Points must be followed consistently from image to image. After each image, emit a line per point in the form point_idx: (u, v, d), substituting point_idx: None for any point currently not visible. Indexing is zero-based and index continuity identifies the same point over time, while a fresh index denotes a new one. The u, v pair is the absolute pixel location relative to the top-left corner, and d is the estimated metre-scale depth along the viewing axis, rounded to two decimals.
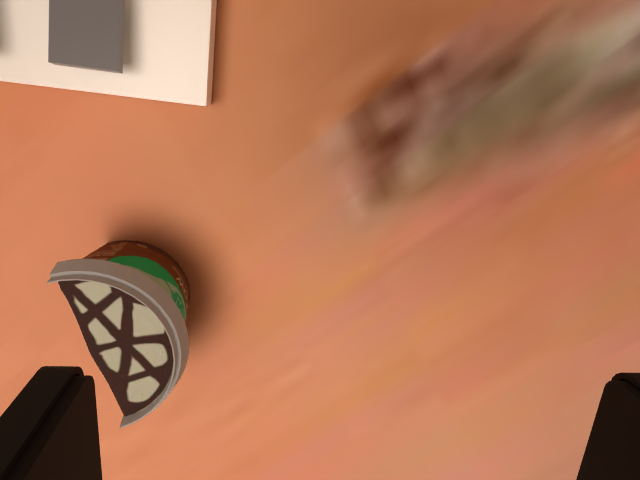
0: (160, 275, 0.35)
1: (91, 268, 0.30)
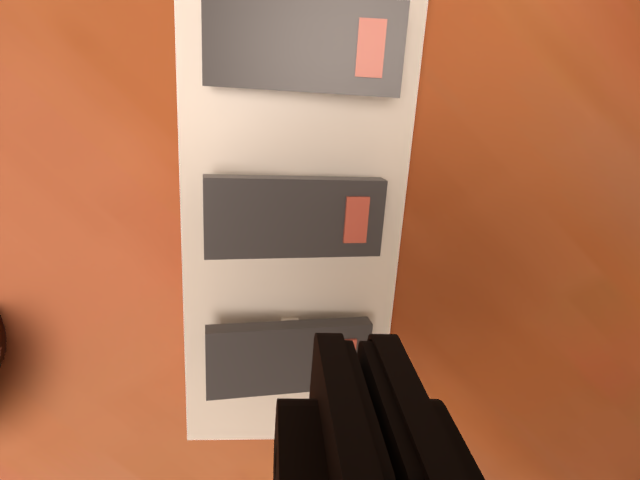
0: None
1: None
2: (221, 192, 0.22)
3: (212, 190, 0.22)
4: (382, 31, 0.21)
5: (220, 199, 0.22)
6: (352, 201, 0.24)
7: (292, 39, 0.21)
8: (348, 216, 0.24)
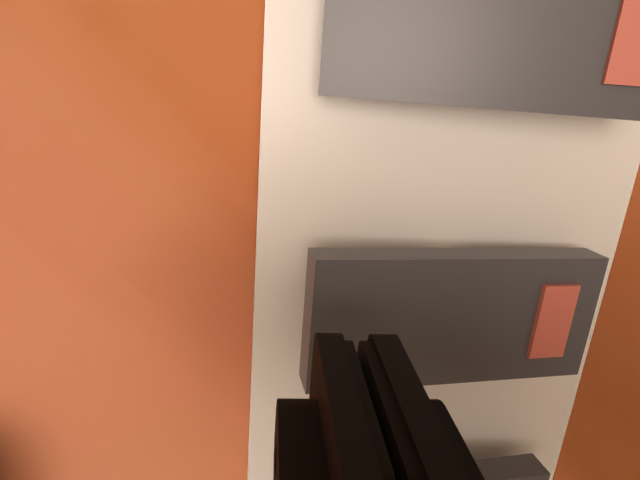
0: None
1: None
2: (345, 284, 0.13)
3: (330, 281, 0.12)
4: None
5: (341, 296, 0.13)
6: (552, 293, 0.14)
7: (493, 13, 0.11)
8: (542, 316, 0.14)
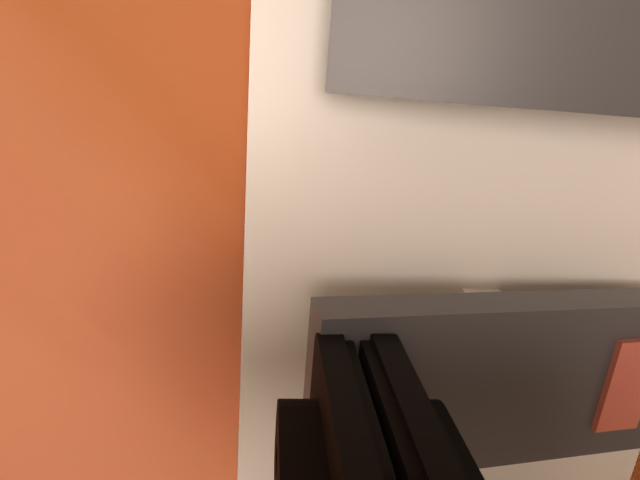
0: None
1: None
2: None
3: None
4: None
5: None
6: (629, 351, 0.11)
7: None
8: (614, 380, 0.11)
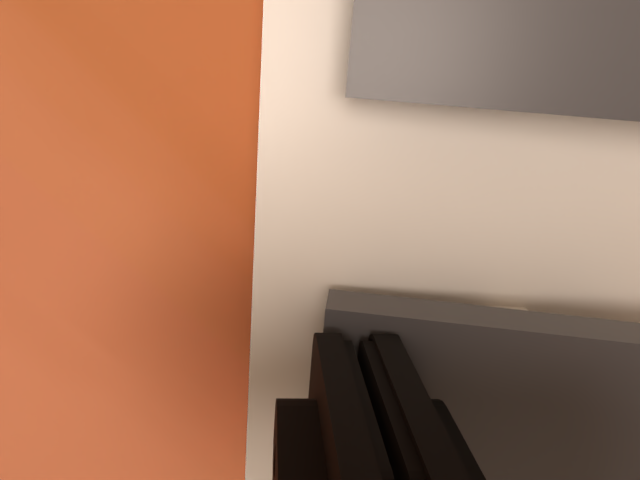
0: None
1: None
2: None
3: (344, 337, 0.10)
4: None
5: None
6: None
7: None
8: None
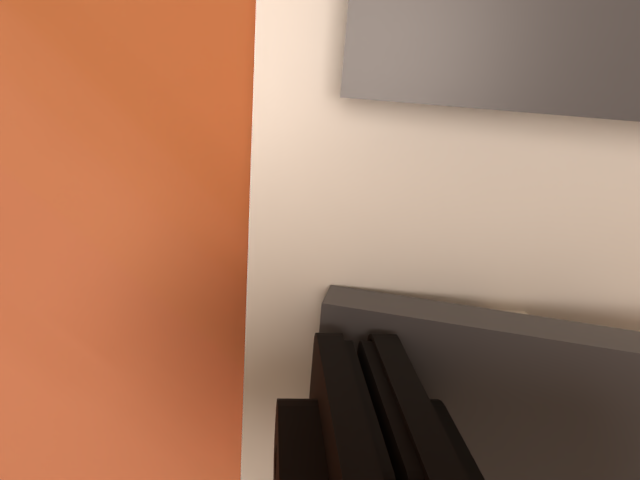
0: None
1: None
2: (359, 339, 0.10)
3: (339, 332, 0.10)
4: None
5: None
6: None
7: None
8: None
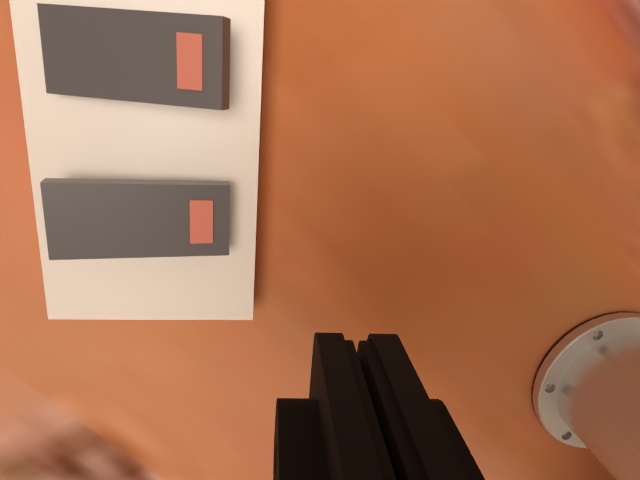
0: None
1: None
2: (54, 20, 0.22)
3: (46, 17, 0.22)
4: None
5: (54, 28, 0.22)
6: (182, 38, 0.21)
7: None
8: (180, 56, 0.22)
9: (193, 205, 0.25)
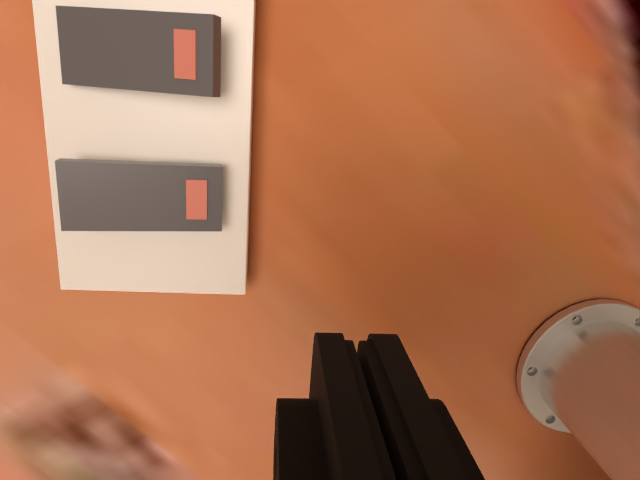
0: None
1: None
2: (70, 20, 0.26)
3: (63, 17, 0.26)
4: None
5: (70, 27, 0.26)
6: (178, 33, 0.24)
7: None
8: (177, 50, 0.25)
9: (189, 184, 0.28)
